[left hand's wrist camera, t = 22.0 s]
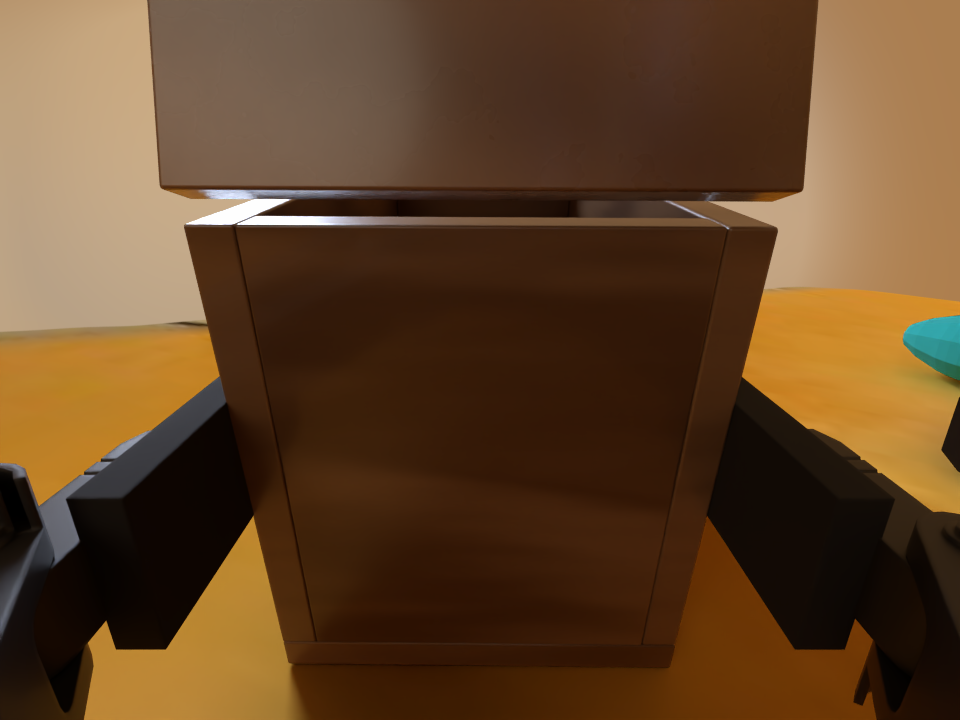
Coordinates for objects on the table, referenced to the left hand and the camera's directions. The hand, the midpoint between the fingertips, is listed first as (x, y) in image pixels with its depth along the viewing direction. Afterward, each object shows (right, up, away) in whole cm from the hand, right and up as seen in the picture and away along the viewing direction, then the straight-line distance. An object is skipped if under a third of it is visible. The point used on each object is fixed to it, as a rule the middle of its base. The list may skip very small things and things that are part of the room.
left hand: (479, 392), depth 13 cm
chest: (0, -3, +7) cm, 8 cm away
